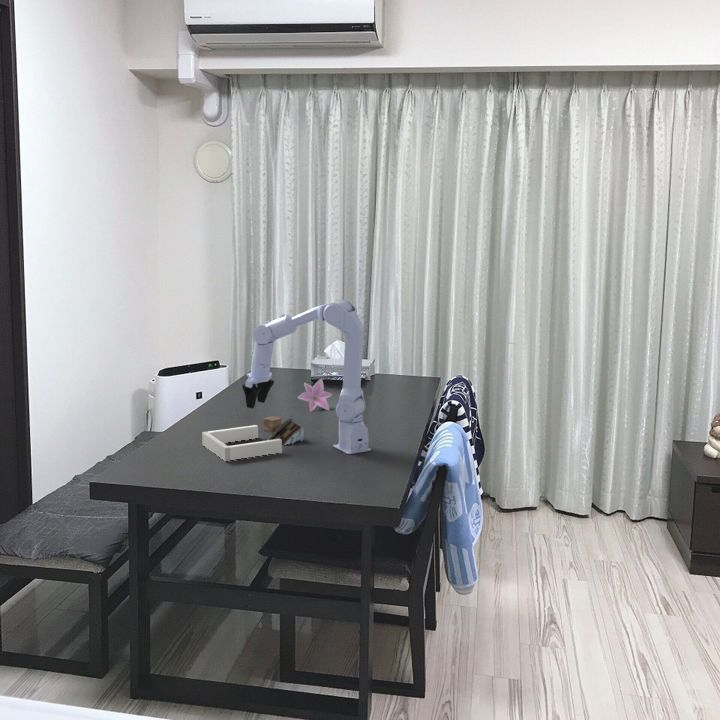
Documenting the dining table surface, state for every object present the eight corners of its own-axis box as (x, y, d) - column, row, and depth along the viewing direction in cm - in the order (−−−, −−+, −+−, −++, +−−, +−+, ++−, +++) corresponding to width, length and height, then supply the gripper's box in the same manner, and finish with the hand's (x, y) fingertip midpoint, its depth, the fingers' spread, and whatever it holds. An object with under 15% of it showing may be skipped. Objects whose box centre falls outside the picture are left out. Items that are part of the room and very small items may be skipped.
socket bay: (281, 453, 247) (281, 439, 246) (225, 461, 239) (225, 448, 238) (256, 437, 263) (256, 425, 263) (202, 445, 255) (202, 432, 254)
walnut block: (281, 430, 272) (281, 418, 272) (272, 432, 269) (272, 420, 268) (272, 428, 275) (272, 416, 274) (263, 430, 272) (263, 418, 271)
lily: (292, 413, 298) (298, 392, 293) (298, 393, 308) (305, 373, 302) (324, 423, 299) (331, 403, 293) (330, 403, 308) (337, 383, 303)
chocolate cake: (282, 450, 252) (306, 419, 256) (265, 440, 255) (288, 409, 259) (292, 464, 260) (314, 433, 264) (274, 454, 263) (297, 423, 267)
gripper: (260, 355, 266) (254, 396, 269) (238, 363, 252) (233, 406, 256) (280, 360, 264) (274, 401, 267) (259, 369, 250) (253, 412, 254)
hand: (255, 404), depth 261 cm, fingers open, 7 cm apart
